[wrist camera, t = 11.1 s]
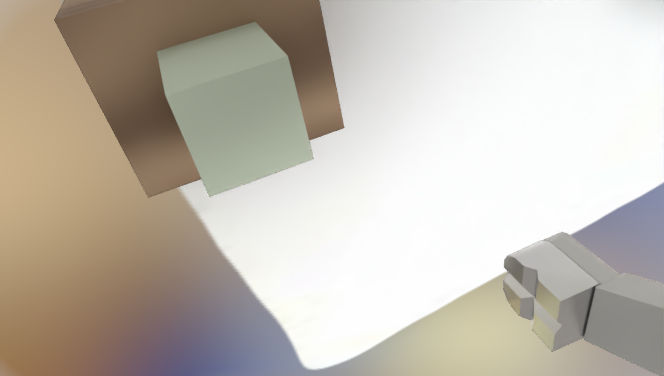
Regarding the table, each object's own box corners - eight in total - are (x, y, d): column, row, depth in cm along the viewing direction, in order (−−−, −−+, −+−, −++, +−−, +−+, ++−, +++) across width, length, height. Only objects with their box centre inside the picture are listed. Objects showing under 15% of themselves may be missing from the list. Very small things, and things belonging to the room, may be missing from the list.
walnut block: (67, -6, 25) (54, 20, 21) (277, -63, 28) (309, -52, 23) (144, 150, 31) (148, 197, 27) (313, 93, 33) (344, 127, 29)
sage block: (156, 51, 23) (165, 95, 18) (255, 21, 24) (288, 55, 19) (193, 139, 26) (209, 197, 21) (280, 110, 27) (313, 159, 22)
